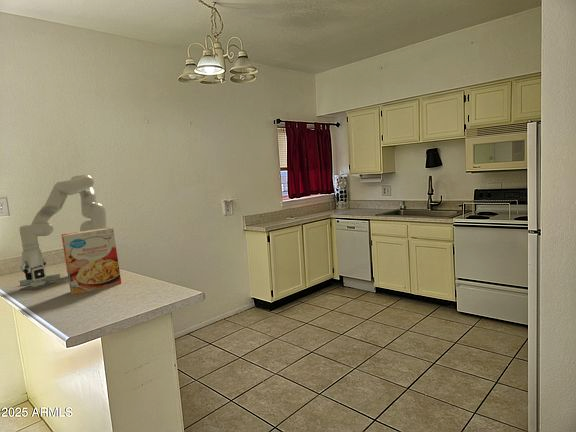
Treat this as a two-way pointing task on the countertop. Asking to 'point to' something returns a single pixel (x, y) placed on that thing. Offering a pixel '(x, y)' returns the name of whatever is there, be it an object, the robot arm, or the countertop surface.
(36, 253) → the robot arm
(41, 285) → the mat
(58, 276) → the low wall
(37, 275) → the security camera
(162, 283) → the countertop surface
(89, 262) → the pasta box
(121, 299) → the countertop surface
